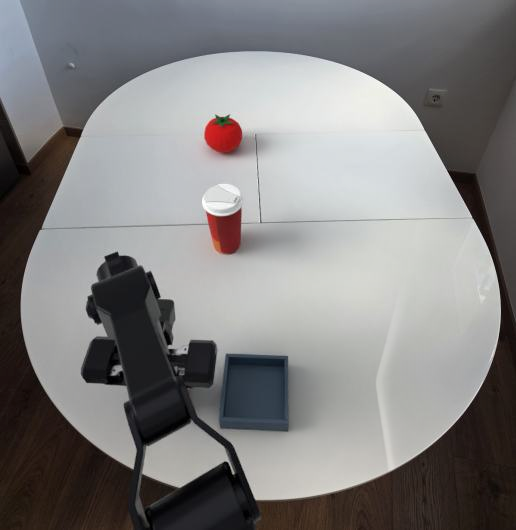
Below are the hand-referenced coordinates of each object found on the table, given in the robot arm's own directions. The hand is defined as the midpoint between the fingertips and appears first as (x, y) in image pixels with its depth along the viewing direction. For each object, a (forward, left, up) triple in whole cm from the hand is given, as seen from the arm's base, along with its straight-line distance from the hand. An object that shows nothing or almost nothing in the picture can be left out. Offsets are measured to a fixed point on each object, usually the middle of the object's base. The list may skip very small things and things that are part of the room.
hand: (160, 384), depth 68 cm
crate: (+1, -15, -5) cm, 16 cm away
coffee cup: (+33, -7, -6) cm, 34 cm away
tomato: (+67, -3, -6) cm, 67 cm away
